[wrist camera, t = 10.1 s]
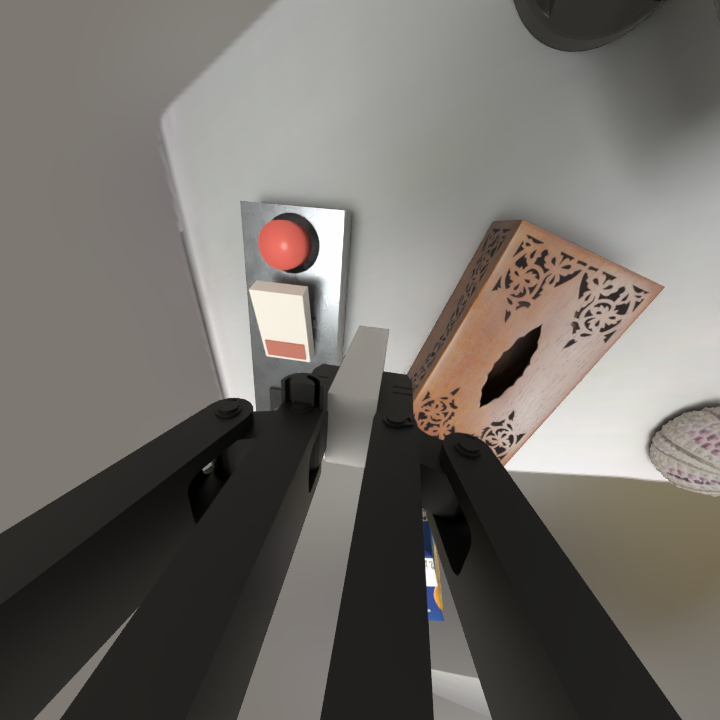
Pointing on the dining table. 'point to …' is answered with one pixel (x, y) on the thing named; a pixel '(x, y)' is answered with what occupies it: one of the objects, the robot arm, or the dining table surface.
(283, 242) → the button
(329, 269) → the console
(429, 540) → the beverage box
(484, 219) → the dining table surface
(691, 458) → the sea urchin shell
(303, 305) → the plate
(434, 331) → the tissue box cover
